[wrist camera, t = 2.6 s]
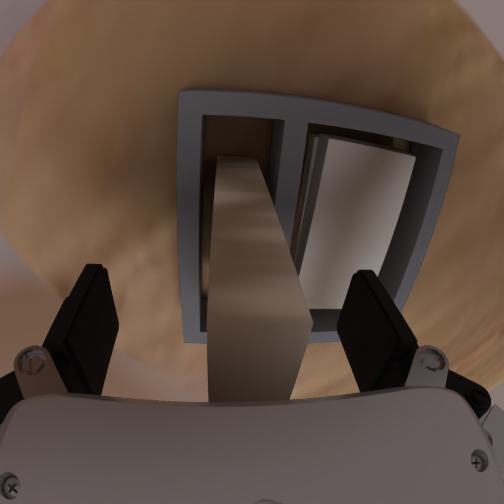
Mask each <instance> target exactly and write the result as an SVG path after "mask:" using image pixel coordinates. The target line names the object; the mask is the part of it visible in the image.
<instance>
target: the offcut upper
mask: <svg viewBox="0 0 504 504" xmlns="http://www.w3.org/2000/svg"><path fill="white" fill-rule="evenodd" d="M415 159H416V157H415V156H413V155H411V154H409V153H407V152H405V151H403V150H401V149H397V148H393V147H389V146H385V145H380V144H376V143H371V142H367V141H362V140H357V139H352V138H347V137H342V136H336V135H331V134H325V133H320V134H319V139H318V145H317V150H316V155H315V161H314V166H313V171H312V176H311V181H310V186H309V191H308V196H307V201H306V206H305V211H304V216H303V221H302V226H301V230H300V235H299V240H298V244H297V249H296V253H295V258H294V262H293V263H294V266H295V269H296V272H297V275H298V278H299V281H300V284H301V287H302V290H303V293H304V296H305V299H306V302H307V305H308V308H309V309H342V306H343V303H344V300H345V297H346V294H347V291H348V288H349V285H350V281H351V278H352V275H353V274H354V273H356V272H357V271H358V270H373V271H374V272H375V274H376V275H377V277H378V275H379V272H380V269H381V267H382V264H383V261H384V258H385V256H386V253H387V250H388V247H389V244H390V242H391V239H392V236H393V233H394V230H395V227H396V224H397V221H398V218H399V214H400V211H401V208H402V205H403V201H404V198H405V195H406V191H407V188H408V184H409V181H410V177H411V174H412V170H413V166H414V162H415Z"/></svg>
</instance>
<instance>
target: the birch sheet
mask: <svg viewBox="0 0 504 504" xmlns="http://www.w3.org/2000/svg"><path fill="white" fill-rule="evenodd" d="M312 326H313V320H312V317H311V314H310V311H309V308H308V305H307V302H306V299H305V296H304V293H303V290H302V287H301V284H300V281H299V278H298V275H297V272H296V269H295V266H294V263H293V260H292V257H291V254H290V251H289V248H288V245H287V242H286V239H285V236H284V233H283V231H282V228H281V225H280V222H279V219H278V216H277V214H276V211H275V208H274V205H273V202H272V199H271V197H270V194H269V191H268V188H267V186H266V183H265V180H264V177H263V175H262V172H261V169H260V166H259V164H258V161H257V158H256V157H242V156H221V155H218V156H217V168H216V179H215V192H214V205H213V219H212V233H211V249H210V266H209V285H208V306H207V364H208V397H209V402H261V401H280V400H289V399H290V396H291V394H292V391H293V387H294V384H295V381H296V378H297V375H298V372H299V369H300V366H301V363H302V359H303V356H304V353H305V350H306V346H307V343H308V340H309V336H310V333H311V330H312Z"/></svg>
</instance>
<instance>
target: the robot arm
mask: <svg viewBox="0 0 504 504" xmlns="http://www.w3.org/2000/svg"><path fill="white" fill-rule="evenodd" d="M336 328H337V333H338V335H339V338H340V340H341V343H342V346H343V348H344V351H345V353H346V356H347V358H348V361H349V364H350V366H351V369H352V372H353V374H354V377H355V380H356V382H357V385H358V388H359V390H360V393H352V394H345V395H337V396H328V397H318V398H307V399H295V400H280V401H261V402H179V401H178V402H177V401H158V400H145V399H133V398H120V397H110V396H101V394H102V389H103V386H104V381H105V378H106V374H107V370H108V365H109V362H110V358H111V355H112V351H113V347H114V344H115V340H116V337H117V333H118V329H119V321H118V317H117V313H116V308H115V304H114V300H113V295H112V291H111V286H110V281H109V276H108V271H107V269H106V268H103V266H102V265H101V264H86V266H85V267H84V269H83V271H82V273H81V275H80V276H79V278H78V280H77V282H76V284H75V286H74V288H73V289H72V291H71V293H70V295H69V297H67V298H66V299H65V300H64V302H63V304H62V306H61V308H60V310H59V312H58V314H57V316H56V318H55V320H54V322H53V324H52V326H51V328H50V330H49V332H48V334H47V336H46V339H45V341H44V343H43V345H42V346H38V345H35V346H29V347H26V348H25V349H23V350H21V351H20V352H19V353H18V355H17V356H16V358H15V360H14V364H13V365H14V371H13V372H11V373H9V374H7V375H5V376H4V377H1V378H0V504H504V411H503V410H502V409H500V408H499V407H498V406H497V405H496V404H495V405H494V406H492V405H491V398H490V395H489V393H488V391H487V390H486V389H485V388H484V387H482V386H481V385H479V384H477V383H475V382H473V381H471V380H469V379H467V378H465V377H463V376H461V375H459V374H457V373H455V372H453V371H451V370H449V361H448V359H447V357H446V355H445V354H444V353H443V352H442V351H441V350H440V349H438V348H436V347H433V346H429V345H425V346H421V347H419V346H418V344H417V339H416V338H415V336H414V334H413V332H412V331H411V329H410V327H409V326H408V324H407V323H406V321H405V319H404V318H403V316H402V314H401V313H400V311H399V310H398V308H397V306H396V305H395V303H394V302H393V300H392V298H391V297H390V295H389V294H388V292H387V291H386V289H385V287H384V286H383V284H382V283H381V281H380V280H379V278H378V277H377V275H376V274H375V272H374V271H373V270H358V271H357V272H356V273H354V274H353V275H352V278H351V281H350V285H349V288H348V291H347V294H346V297H345V300H344V303H343V306H342V309H341V312H340V315H339V318H338V321H337V326H336Z"/></svg>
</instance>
